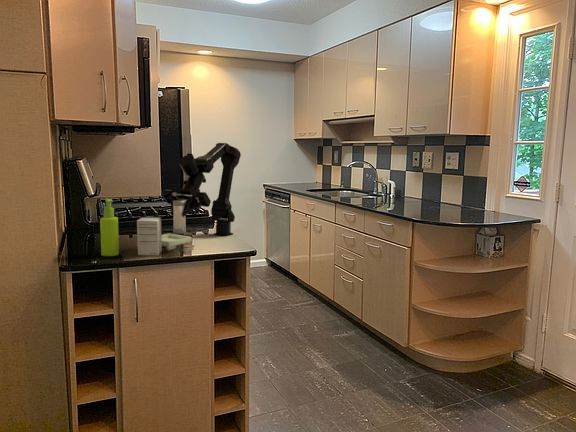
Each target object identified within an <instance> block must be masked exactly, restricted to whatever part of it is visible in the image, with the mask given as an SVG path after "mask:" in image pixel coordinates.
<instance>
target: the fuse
mask: <svg viewBox="0 0 576 432" xmlns="http://www.w3.org/2000/svg"><path fill="white" fill-rule="evenodd" d="M185 204H186V201H185V200H174V201H173V217H172V219H173V228H172V229H173V231H172V232H173V233H172V234H176V235H181V234H182V235H183V234H186V233H187V226H186V223H187V222H186V220H187V219H186V215H185V216H184V217H183V216H182V213H183V210H184V207H185Z"/></svg>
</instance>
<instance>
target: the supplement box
mask: <svg viewBox="0 0 576 432" xmlns="http://www.w3.org/2000/svg"><path fill="white" fill-rule="evenodd" d="M161 235H162V217H140V218H138V219H137V220H136V236H137V242H136V243H137V256H159V255H160V253H161V252H162V251H163V248H162V247H163V246H162V237H161Z"/></svg>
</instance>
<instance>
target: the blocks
mask: <svg viewBox="0 0 576 432" xmlns="http://www.w3.org/2000/svg"><path fill="white" fill-rule="evenodd" d="M195 246H196V245H193V244H186V245H184V246H183V247H184V249H183V252H184V253H189V252H191V251H193V250H194V247H195ZM174 249H177V246H176V245H172V246H169V247H166V251H171V250H174Z"/></svg>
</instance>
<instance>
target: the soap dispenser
mask: <svg viewBox="0 0 576 432" xmlns="http://www.w3.org/2000/svg"><path fill="white" fill-rule="evenodd" d="M104 200H105V207H103V216H102V217H100V218H99V223H100V225H99V227H100V228H99V229H100V252H101V253H100V254H101V256H102V257H115V256H118V255H119V254H120V240H119V217H117V216H115V208H114V207H113V206H112V203H113V199H112V198H104Z"/></svg>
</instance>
